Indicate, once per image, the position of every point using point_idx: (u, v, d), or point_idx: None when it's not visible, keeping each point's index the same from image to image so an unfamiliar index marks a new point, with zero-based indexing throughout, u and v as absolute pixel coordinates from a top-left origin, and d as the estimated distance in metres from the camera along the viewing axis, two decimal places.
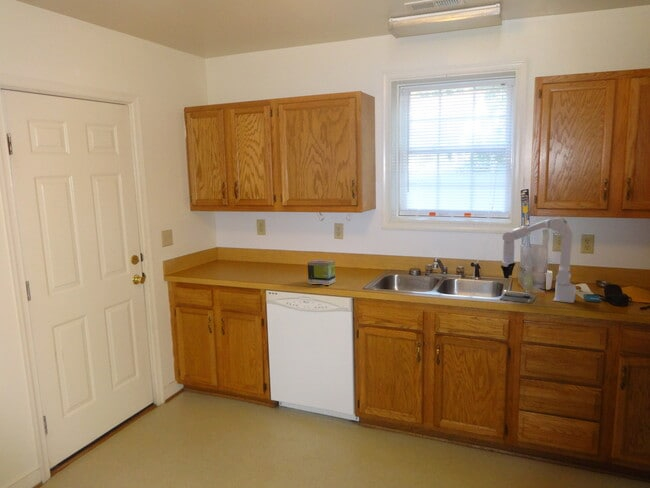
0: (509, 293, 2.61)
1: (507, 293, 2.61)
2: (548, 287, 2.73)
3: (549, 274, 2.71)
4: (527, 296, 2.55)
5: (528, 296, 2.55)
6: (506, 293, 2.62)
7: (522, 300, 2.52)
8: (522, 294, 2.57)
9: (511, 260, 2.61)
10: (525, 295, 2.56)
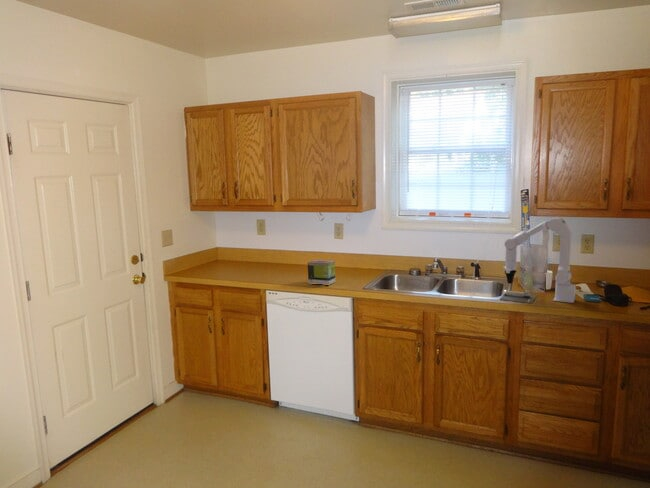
0: (509, 293, 2.61)
1: (507, 293, 2.61)
2: (548, 287, 2.73)
3: (549, 274, 2.71)
4: (527, 296, 2.55)
5: (528, 296, 2.55)
6: (506, 293, 2.62)
7: (522, 300, 2.52)
8: (522, 294, 2.57)
9: (513, 267, 2.62)
10: (525, 295, 2.56)
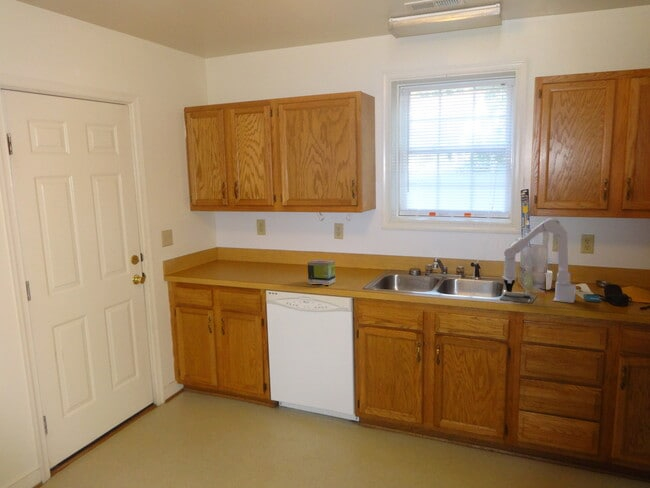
0: (509, 293, 2.60)
1: (507, 293, 2.61)
2: (548, 287, 2.73)
3: (549, 274, 2.71)
4: (527, 296, 2.55)
5: (528, 296, 2.55)
6: (506, 293, 2.61)
7: (522, 300, 2.52)
8: (522, 294, 2.57)
9: (513, 276, 2.59)
10: (525, 295, 2.56)
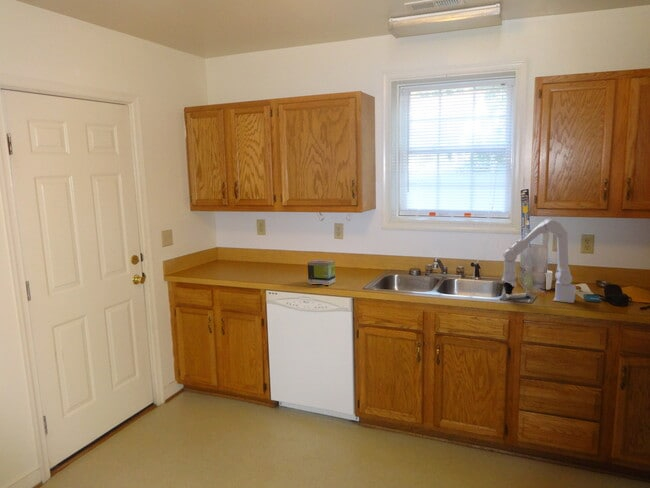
0: (513, 296, 2.54)
1: (511, 297, 2.54)
2: (548, 287, 2.73)
3: (549, 274, 2.71)
4: (529, 296, 2.56)
5: (530, 295, 2.56)
6: (510, 297, 2.54)
7: (522, 300, 2.52)
8: (524, 295, 2.56)
9: (514, 279, 2.53)
10: (528, 295, 2.55)
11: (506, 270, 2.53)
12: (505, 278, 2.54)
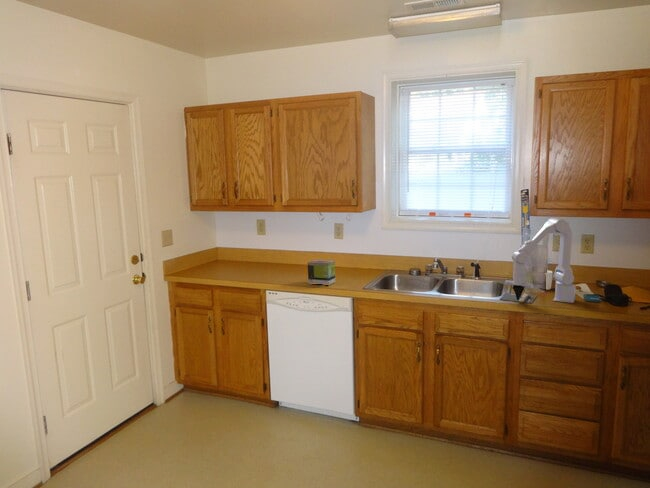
0: (524, 299, 2.49)
1: (524, 299, 2.48)
2: (548, 287, 2.73)
3: (549, 274, 2.71)
4: (530, 295, 2.56)
5: None
6: (524, 300, 2.48)
7: None
8: (527, 295, 2.55)
9: None
10: (530, 295, 2.56)
11: (517, 273, 2.46)
12: (519, 281, 2.46)
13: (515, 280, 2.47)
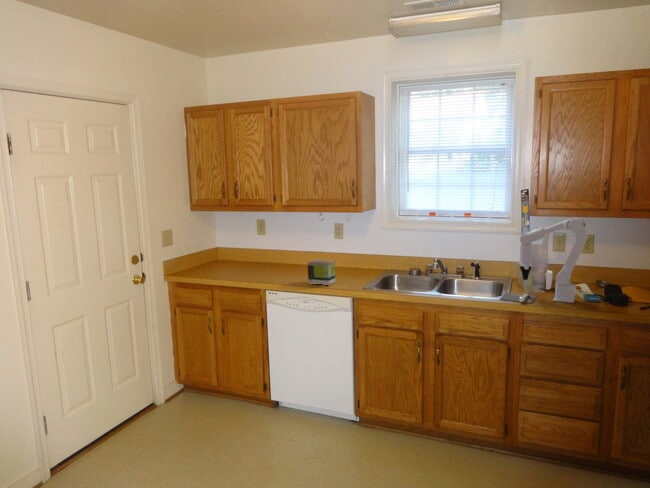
0: (524, 299, 2.49)
1: (524, 299, 2.48)
2: (548, 287, 2.73)
3: (549, 274, 2.71)
4: (530, 295, 2.56)
5: None
6: (524, 300, 2.48)
7: None
8: (527, 295, 2.55)
9: (530, 262, 2.56)
10: (530, 295, 2.56)
11: (521, 253, 2.57)
12: (520, 261, 2.58)
13: None
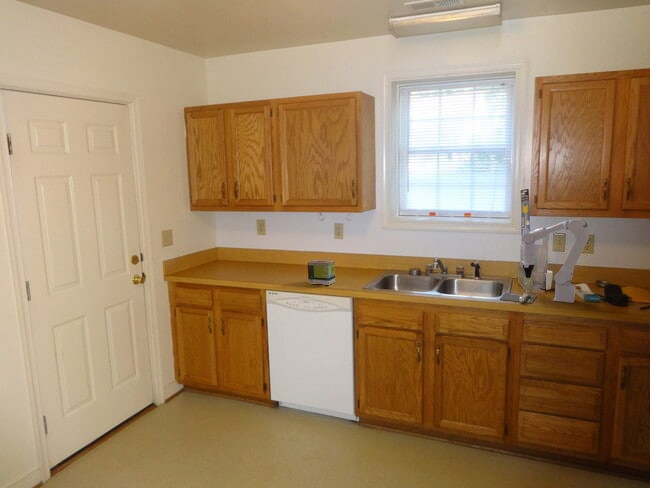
0: (524, 299, 2.49)
1: (524, 299, 2.48)
2: (548, 287, 2.73)
3: (549, 274, 2.71)
4: (530, 295, 2.56)
5: None
6: (524, 300, 2.48)
7: None
8: (527, 295, 2.55)
9: (532, 261, 2.59)
10: (530, 295, 2.56)
11: (524, 252, 2.60)
12: (523, 259, 2.62)
13: None
